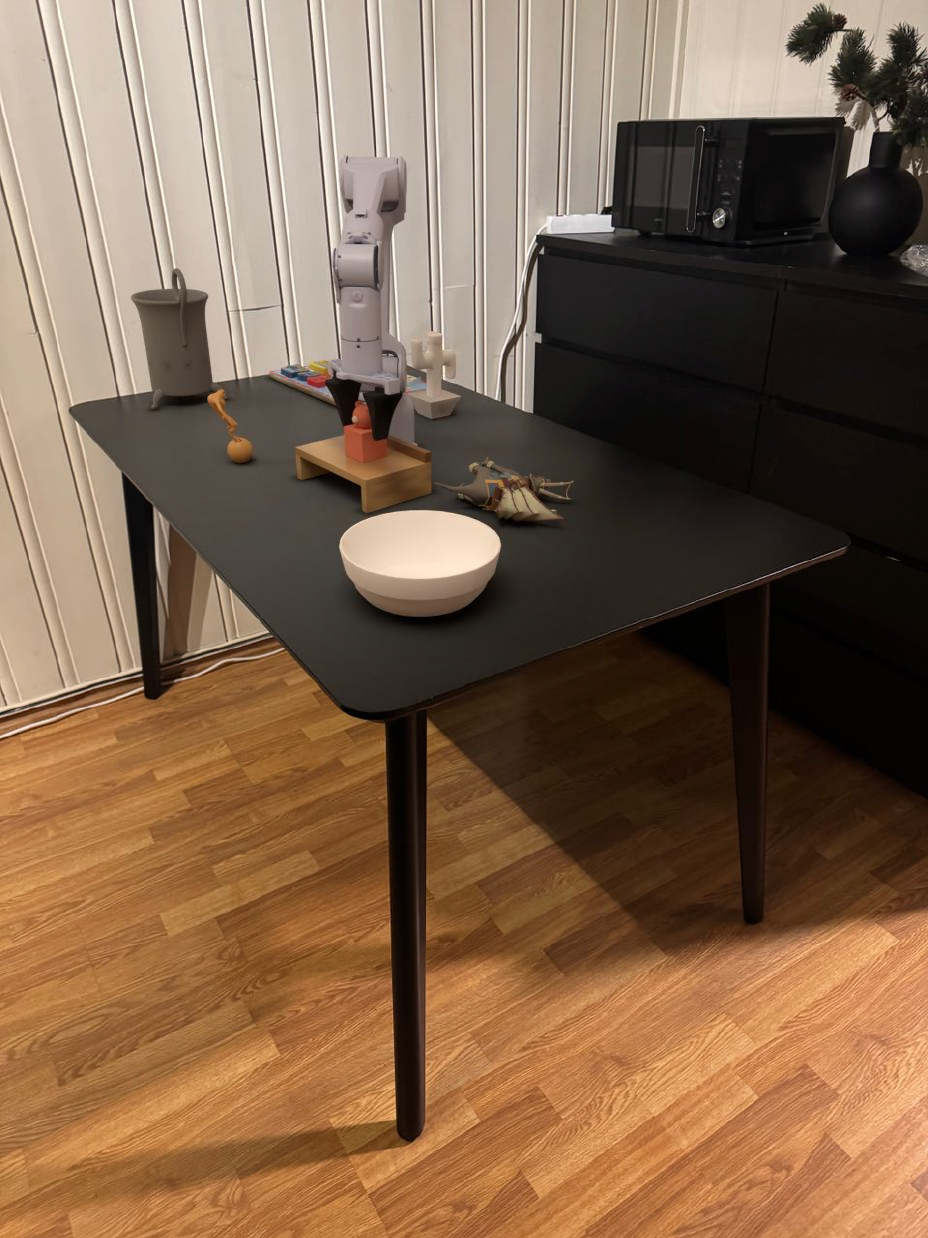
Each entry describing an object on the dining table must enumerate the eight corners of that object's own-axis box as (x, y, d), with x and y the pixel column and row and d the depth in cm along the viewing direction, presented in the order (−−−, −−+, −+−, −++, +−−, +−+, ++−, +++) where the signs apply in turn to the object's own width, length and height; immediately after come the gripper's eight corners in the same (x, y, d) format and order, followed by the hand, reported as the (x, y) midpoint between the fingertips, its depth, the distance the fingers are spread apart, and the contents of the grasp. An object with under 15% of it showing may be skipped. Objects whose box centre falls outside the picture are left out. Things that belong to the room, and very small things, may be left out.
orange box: (369, 448, 132) (367, 396, 128) (386, 456, 129) (385, 403, 125) (345, 455, 129) (342, 401, 125) (362, 463, 126) (360, 408, 122)
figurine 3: (543, 449, 132) (608, 488, 119) (538, 487, 135) (601, 529, 122) (424, 460, 123) (480, 503, 110) (421, 500, 126) (476, 547, 113)
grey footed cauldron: (134, 393, 172) (111, 258, 160) (208, 384, 179) (191, 254, 167) (160, 419, 159) (137, 273, 146) (238, 407, 165) (222, 268, 153)
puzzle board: (441, 392, 177) (441, 379, 176) (345, 412, 164) (345, 398, 163) (359, 362, 197) (358, 350, 196) (268, 377, 184) (267, 365, 183)
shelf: (360, 461, 141) (358, 422, 138) (431, 493, 130) (431, 451, 127) (297, 478, 134) (294, 437, 131) (367, 513, 123) (365, 469, 120)
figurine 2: (465, 414, 164) (466, 332, 157) (425, 423, 159) (425, 339, 152) (441, 405, 169) (442, 325, 162) (402, 413, 164) (401, 332, 156)
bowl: (428, 550, 113) (428, 498, 109) (531, 601, 101) (534, 545, 98) (311, 594, 102) (306, 538, 98) (411, 657, 91) (410, 596, 87)
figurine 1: (259, 468, 137) (251, 393, 131) (221, 473, 135) (211, 397, 129) (248, 452, 144) (240, 379, 138) (211, 457, 142) (201, 383, 136)
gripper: (307, 332, 123) (314, 425, 129) (369, 351, 113) (372, 451, 120) (348, 325, 127) (352, 417, 133) (411, 343, 117) (412, 440, 124)
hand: (364, 432), depth 127 cm, fingers open, 7 cm apart
